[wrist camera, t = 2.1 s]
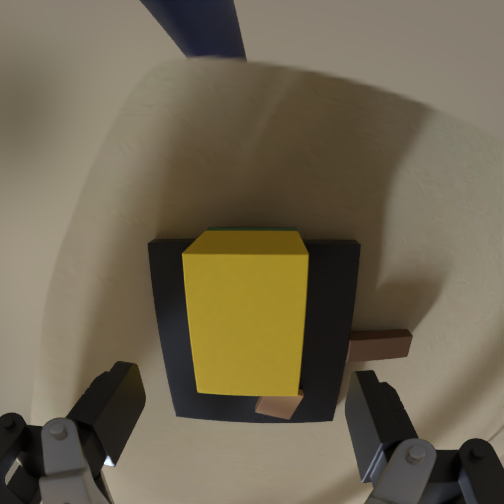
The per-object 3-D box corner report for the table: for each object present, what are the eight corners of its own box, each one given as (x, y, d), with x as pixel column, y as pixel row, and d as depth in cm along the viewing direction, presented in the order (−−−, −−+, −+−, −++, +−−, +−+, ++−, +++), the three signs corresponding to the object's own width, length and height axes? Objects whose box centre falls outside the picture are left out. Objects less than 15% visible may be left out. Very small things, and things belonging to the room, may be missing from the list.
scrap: (267, 380, 22) (267, 387, 21) (303, 389, 22) (304, 395, 21) (255, 405, 22) (254, 412, 22) (289, 413, 22) (289, 419, 22)
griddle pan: (153, 238, 20) (145, 244, 19) (420, 241, 19) (430, 246, 18) (179, 408, 25) (175, 418, 23) (382, 406, 24) (387, 417, 22)
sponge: (208, 227, 19) (181, 252, 13) (296, 227, 18) (309, 253, 13) (214, 338, 21) (197, 393, 15) (291, 340, 20) (298, 396, 15)
